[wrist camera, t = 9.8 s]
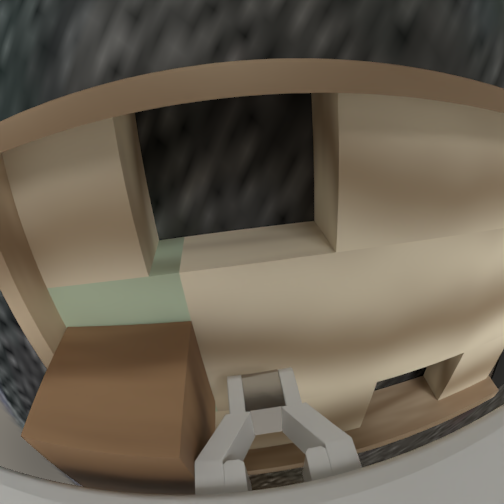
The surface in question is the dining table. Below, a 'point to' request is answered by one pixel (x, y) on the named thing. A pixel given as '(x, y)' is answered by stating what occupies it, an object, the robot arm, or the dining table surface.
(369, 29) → the dining table surface
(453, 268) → the box
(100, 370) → the block
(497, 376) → the black flat board
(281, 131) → the dining table surface
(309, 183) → the dining table surface
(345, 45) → the dining table surface
